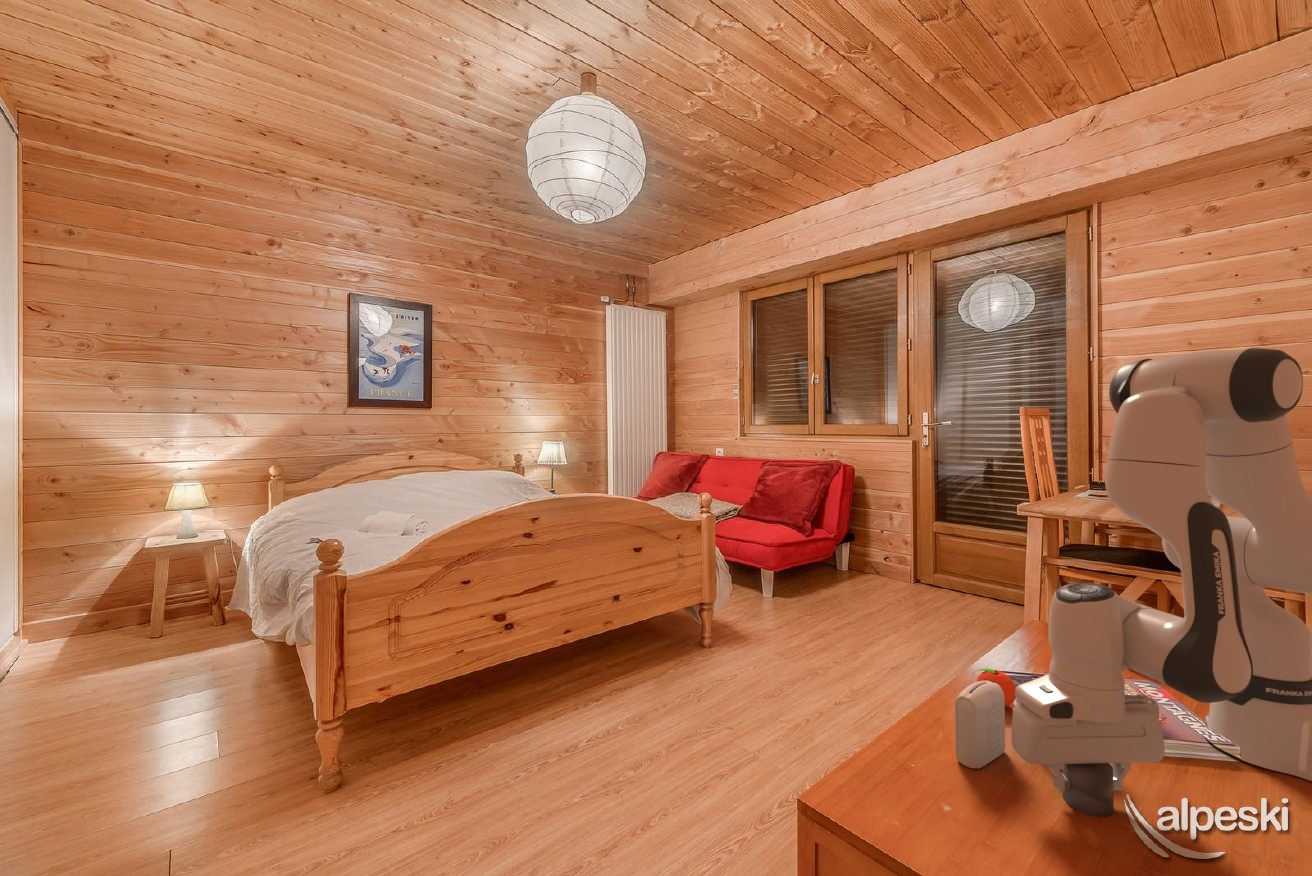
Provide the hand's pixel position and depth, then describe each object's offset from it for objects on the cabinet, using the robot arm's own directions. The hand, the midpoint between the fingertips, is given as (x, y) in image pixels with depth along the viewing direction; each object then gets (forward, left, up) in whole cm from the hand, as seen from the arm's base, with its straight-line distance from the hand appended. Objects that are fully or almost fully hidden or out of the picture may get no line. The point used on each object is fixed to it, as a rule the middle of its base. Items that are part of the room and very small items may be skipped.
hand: (1087, 788), depth 83 cm
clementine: (-3, -29, -2) cm, 29 cm away
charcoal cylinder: (0, 0, -2) cm, 2 cm away
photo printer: (+9, -12, -2) cm, 15 cm away
